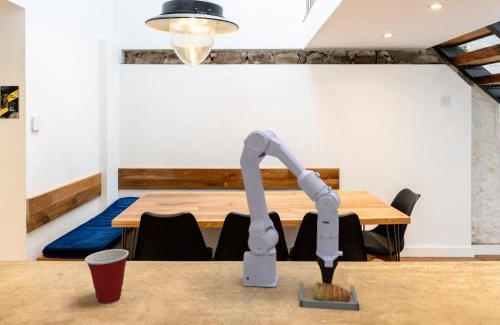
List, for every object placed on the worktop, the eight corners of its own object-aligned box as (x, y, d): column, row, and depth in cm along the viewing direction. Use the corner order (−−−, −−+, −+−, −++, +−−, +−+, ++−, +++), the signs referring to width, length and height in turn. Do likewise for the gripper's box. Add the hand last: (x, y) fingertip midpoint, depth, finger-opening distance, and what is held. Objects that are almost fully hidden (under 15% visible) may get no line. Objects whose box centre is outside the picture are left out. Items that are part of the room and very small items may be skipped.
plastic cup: (85, 294, 112) (84, 250, 111) (126, 289, 116) (126, 246, 115) (86, 310, 102) (85, 262, 101) (132, 303, 106) (131, 257, 105)
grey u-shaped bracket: (299, 306, 104) (299, 300, 104) (300, 287, 117) (300, 282, 117) (359, 310, 102) (359, 304, 102) (353, 290, 115) (353, 285, 115)
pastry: (350, 295, 112) (351, 282, 112) (349, 306, 105) (349, 291, 105) (315, 292, 114) (315, 278, 114) (312, 302, 108) (312, 287, 108)
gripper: (345, 243, 106) (344, 295, 107) (340, 230, 120) (339, 276, 121) (317, 242, 107) (316, 294, 108) (315, 229, 121) (315, 275, 122)
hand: (326, 284), depth 114 cm, fingers closed
